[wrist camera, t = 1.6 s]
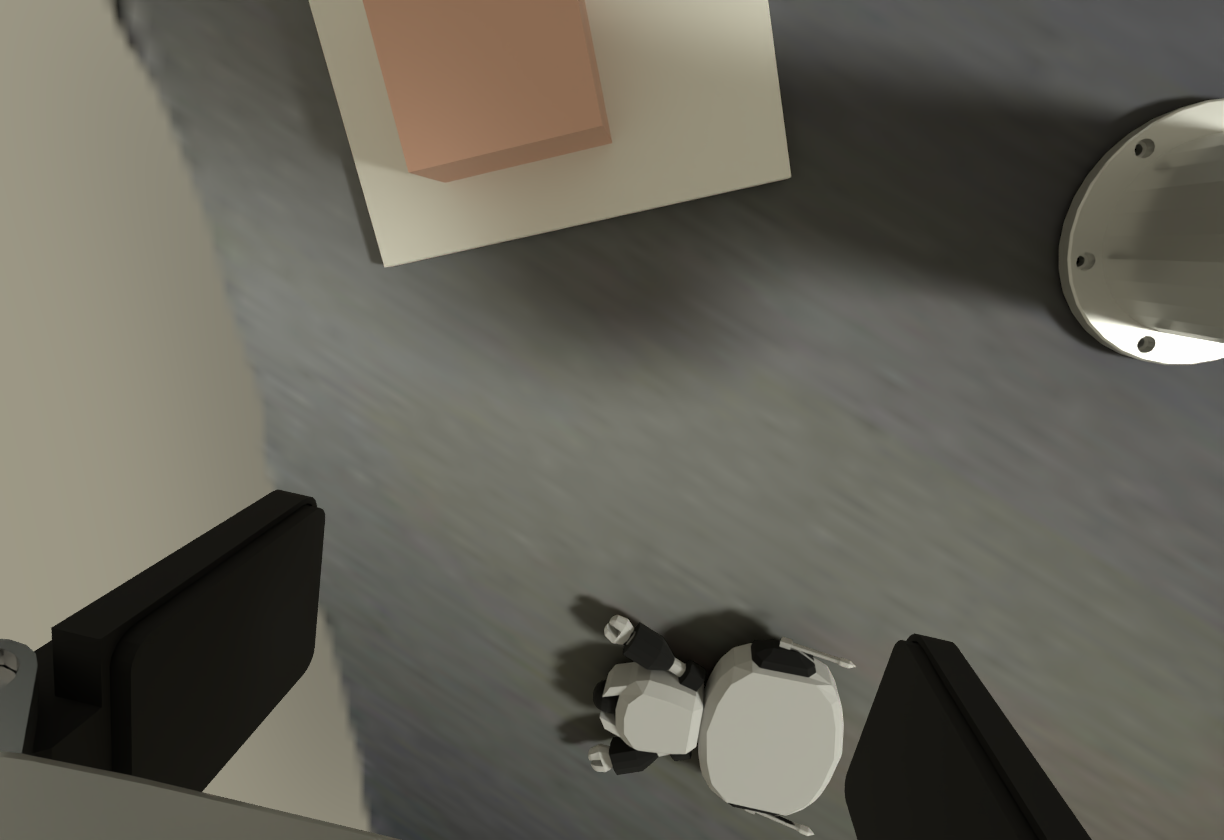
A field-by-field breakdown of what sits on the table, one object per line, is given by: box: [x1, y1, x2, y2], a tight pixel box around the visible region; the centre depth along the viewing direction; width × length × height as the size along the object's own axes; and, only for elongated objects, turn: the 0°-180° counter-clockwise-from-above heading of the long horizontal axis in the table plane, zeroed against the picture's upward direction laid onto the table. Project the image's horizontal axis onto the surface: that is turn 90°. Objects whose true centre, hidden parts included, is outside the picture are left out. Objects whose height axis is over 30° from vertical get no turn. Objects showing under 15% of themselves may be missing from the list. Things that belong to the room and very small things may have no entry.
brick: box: [363, 0, 612, 183], centre depth 30 cm, size 9×9×5 cm
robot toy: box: [588, 615, 856, 836], centre depth 40 cm, size 12×4×15 cm
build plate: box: [309, 0, 791, 267], centre depth 33 cm, size 22×16×1 cm
